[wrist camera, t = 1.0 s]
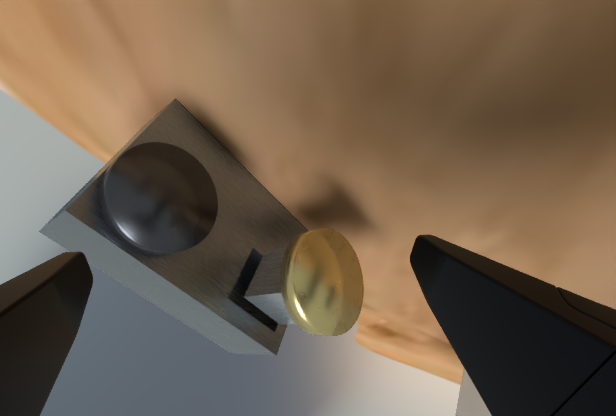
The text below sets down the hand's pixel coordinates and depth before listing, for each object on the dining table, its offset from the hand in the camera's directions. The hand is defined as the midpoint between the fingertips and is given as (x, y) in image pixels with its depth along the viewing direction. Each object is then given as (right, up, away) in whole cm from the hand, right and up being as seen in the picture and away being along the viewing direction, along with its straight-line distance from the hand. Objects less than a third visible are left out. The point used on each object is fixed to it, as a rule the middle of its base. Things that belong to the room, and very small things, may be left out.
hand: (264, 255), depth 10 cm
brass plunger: (+2, -1, +14) cm, 14 cm away
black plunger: (-7, +4, +12) cm, 15 cm away
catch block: (-4, +3, +18) cm, 18 cm away
